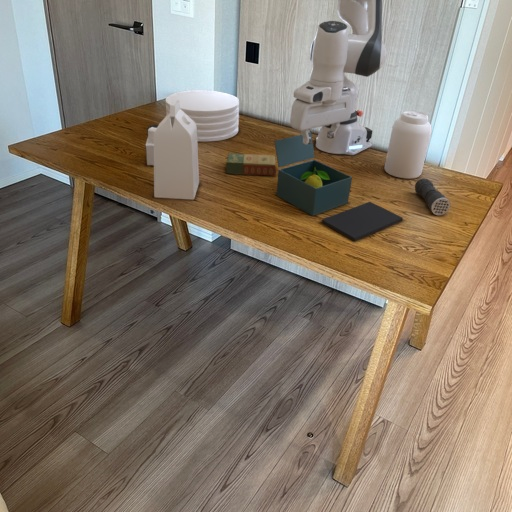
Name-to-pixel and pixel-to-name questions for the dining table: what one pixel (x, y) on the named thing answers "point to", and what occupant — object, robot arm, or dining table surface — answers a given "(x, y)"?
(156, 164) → the milk
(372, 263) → the dining table surface
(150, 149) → the medicine bottle
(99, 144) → the dining table surface
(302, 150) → the flap
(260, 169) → the carton
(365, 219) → the mat
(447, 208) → the flashlight
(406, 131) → the white lidded jar
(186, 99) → the plate stack
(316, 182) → the lemon
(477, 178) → the dining table surface
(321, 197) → the box
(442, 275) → the dining table surface
